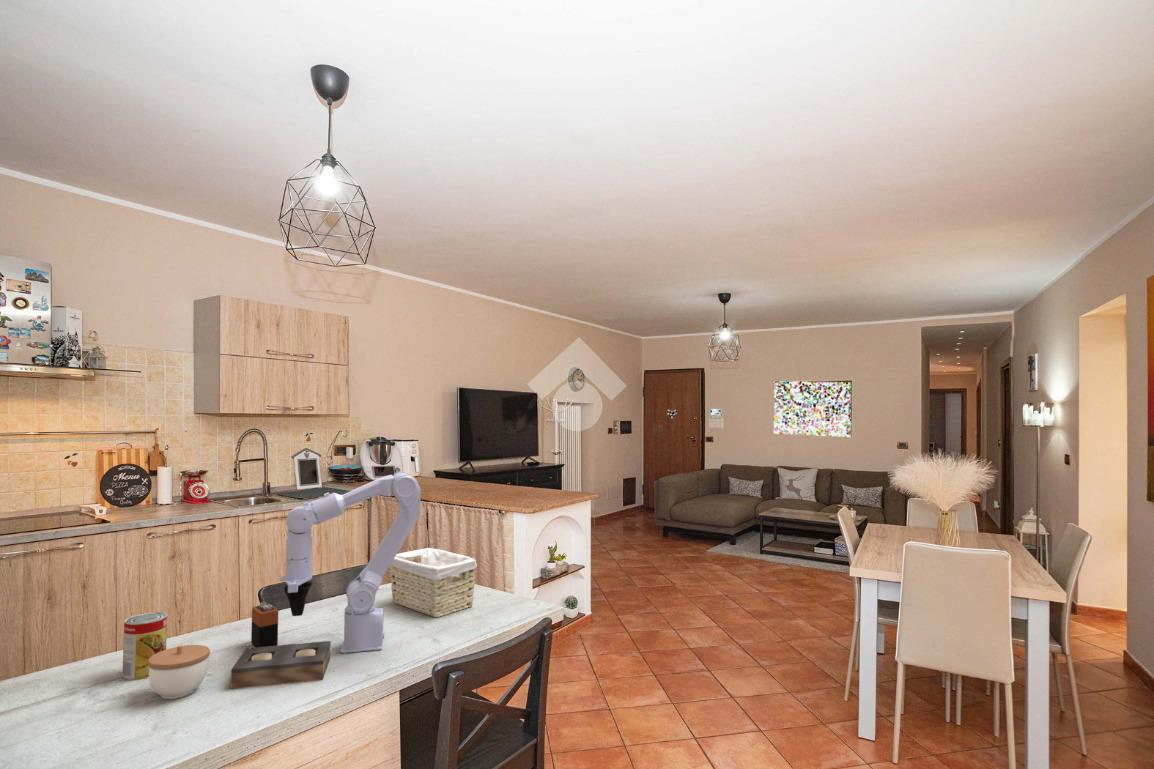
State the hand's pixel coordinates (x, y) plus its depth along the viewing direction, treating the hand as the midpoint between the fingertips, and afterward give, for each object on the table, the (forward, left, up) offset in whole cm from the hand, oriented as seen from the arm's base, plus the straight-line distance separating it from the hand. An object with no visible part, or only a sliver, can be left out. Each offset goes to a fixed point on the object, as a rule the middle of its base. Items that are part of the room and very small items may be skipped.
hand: (297, 615), depth 147 cm
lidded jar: (+20, +15, -10) cm, 27 cm away
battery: (+9, -9, -10) cm, 16 cm away
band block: (+1, +10, -9) cm, 14 cm away
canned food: (+31, +2, -10) cm, 33 cm away
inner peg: (-4, +10, -9) cm, 14 cm away
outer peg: (+6, +10, -9) cm, 15 cm away
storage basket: (-32, -31, -10) cm, 46 cm away
